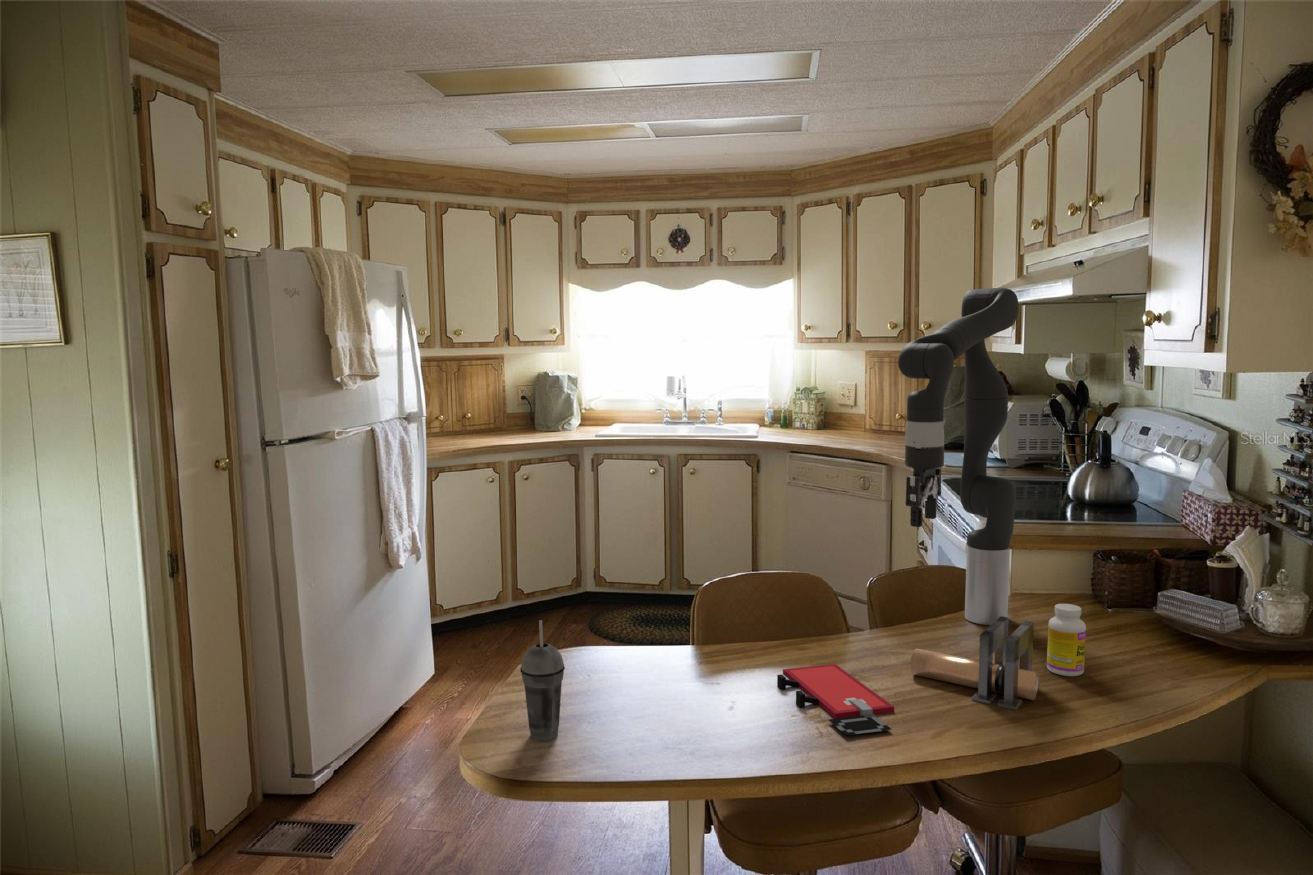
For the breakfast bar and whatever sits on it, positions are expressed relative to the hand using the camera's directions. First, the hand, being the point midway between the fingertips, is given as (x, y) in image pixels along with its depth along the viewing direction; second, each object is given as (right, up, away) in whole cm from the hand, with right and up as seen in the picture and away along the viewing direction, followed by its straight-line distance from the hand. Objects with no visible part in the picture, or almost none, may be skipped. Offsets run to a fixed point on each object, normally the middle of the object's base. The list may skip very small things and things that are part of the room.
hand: (923, 522), depth 183 cm
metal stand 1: (+8, -29, -16) cm, 34 cm away
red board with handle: (-22, -31, -20) cm, 43 cm away
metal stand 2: (+12, -30, -18) cm, 37 cm away
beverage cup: (-73, -32, -34) cm, 86 cm away
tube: (+5, -29, -14) cm, 33 cm away
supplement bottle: (+25, -28, -7) cm, 39 cm away
